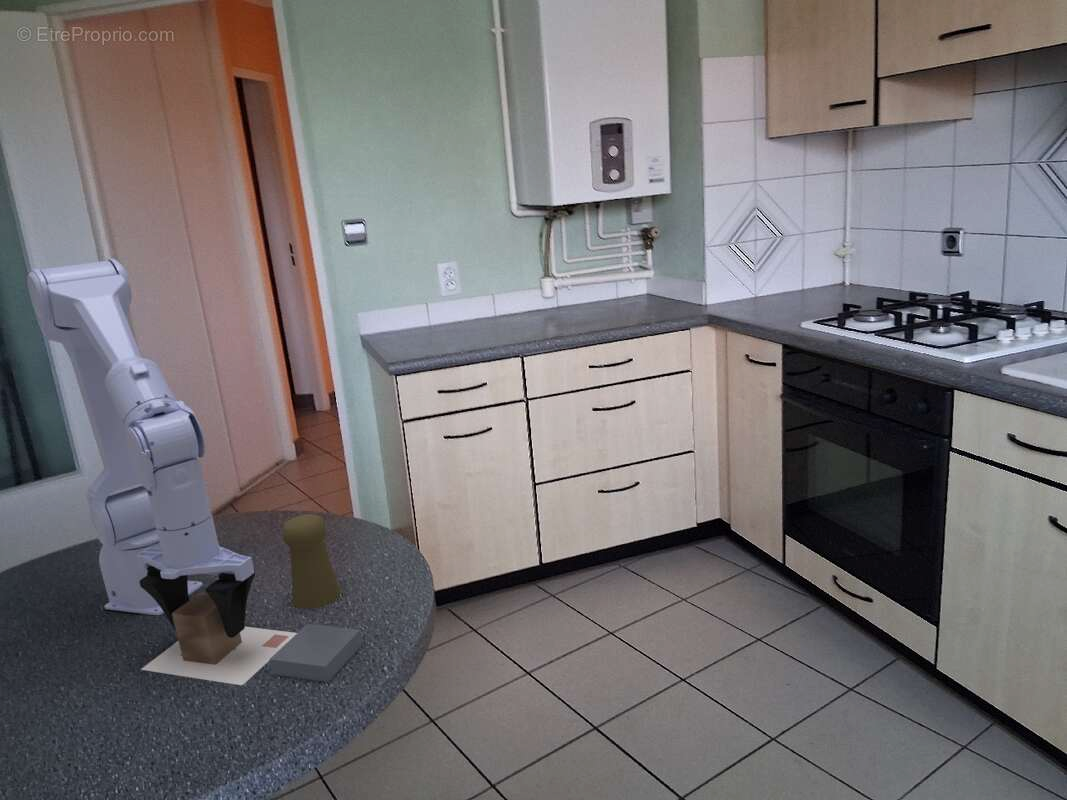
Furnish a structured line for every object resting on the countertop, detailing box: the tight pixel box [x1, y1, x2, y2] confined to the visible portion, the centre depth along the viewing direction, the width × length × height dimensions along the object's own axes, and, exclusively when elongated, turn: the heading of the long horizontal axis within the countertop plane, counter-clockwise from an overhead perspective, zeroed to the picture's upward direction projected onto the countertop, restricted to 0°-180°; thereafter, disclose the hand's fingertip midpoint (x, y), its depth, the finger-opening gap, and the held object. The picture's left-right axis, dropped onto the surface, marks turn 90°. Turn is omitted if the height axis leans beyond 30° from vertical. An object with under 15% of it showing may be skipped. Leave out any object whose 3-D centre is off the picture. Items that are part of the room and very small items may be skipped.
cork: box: [282, 513, 341, 610], centre depth 100 cm, size 6×6×11 cm
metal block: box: [269, 623, 364, 683], centre depth 87 cm, size 7×7×2 cm
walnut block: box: [172, 592, 242, 665], centre depth 90 cm, size 4×4×6 cm
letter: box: [140, 626, 298, 686], centre depth 91 cm, size 14×10×1 cm
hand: (209, 629), depth 91 cm, fingers open, 7 cm apart
